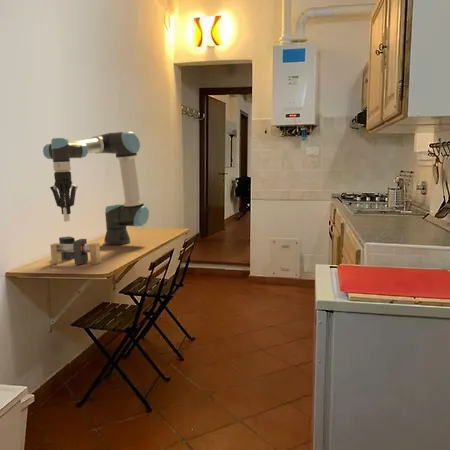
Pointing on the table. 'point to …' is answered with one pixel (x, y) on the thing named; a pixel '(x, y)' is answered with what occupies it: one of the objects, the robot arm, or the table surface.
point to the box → (67, 241)
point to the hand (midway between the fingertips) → (66, 221)
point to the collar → (79, 251)
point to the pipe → (59, 248)
